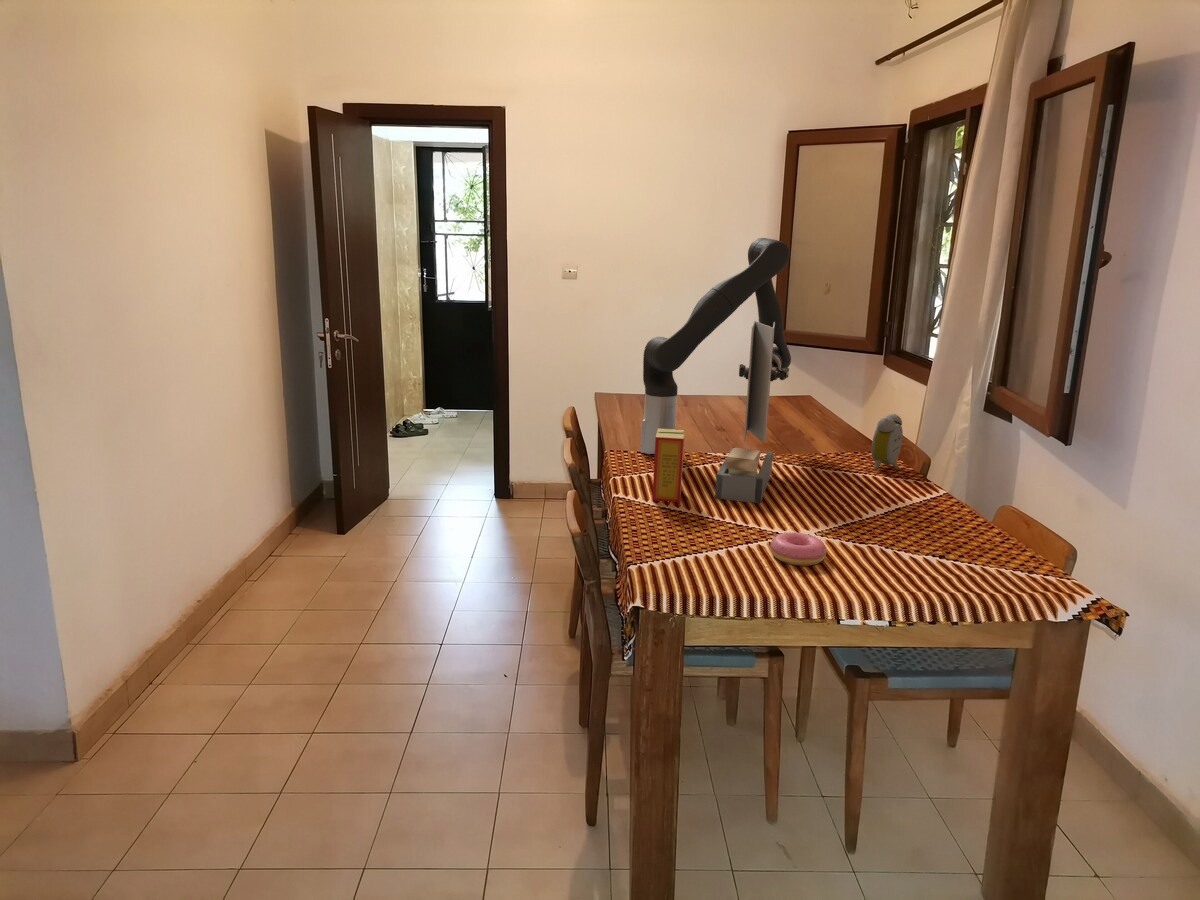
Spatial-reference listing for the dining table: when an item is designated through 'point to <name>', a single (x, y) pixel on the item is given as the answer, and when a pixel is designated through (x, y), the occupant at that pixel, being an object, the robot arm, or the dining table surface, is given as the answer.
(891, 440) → the alarm clock
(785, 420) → the dining table surface
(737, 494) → the rack
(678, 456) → the baking soda box
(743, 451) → the offcut stack
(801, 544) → the doughnut
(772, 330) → the brochure
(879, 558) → the dining table surface
